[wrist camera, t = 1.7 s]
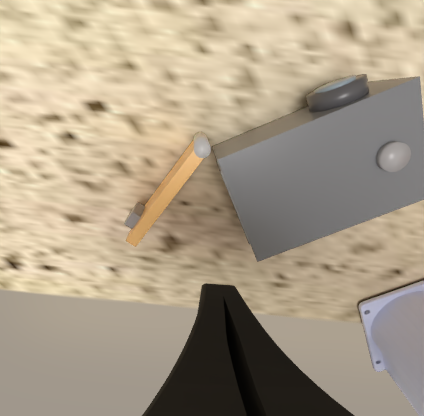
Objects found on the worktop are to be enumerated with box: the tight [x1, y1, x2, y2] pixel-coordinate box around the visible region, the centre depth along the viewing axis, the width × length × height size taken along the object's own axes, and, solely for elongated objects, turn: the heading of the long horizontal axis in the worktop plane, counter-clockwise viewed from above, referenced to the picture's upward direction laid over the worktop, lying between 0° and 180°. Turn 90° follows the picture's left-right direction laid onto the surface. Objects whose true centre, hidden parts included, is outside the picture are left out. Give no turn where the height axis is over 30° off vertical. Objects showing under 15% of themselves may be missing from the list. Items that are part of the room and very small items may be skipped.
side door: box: [124, 132, 211, 247], centre depth 17 cm, size 8×1×4 cm, turn 142°
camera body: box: [212, 74, 424, 262], centre depth 17 cm, size 8×11×5 cm
